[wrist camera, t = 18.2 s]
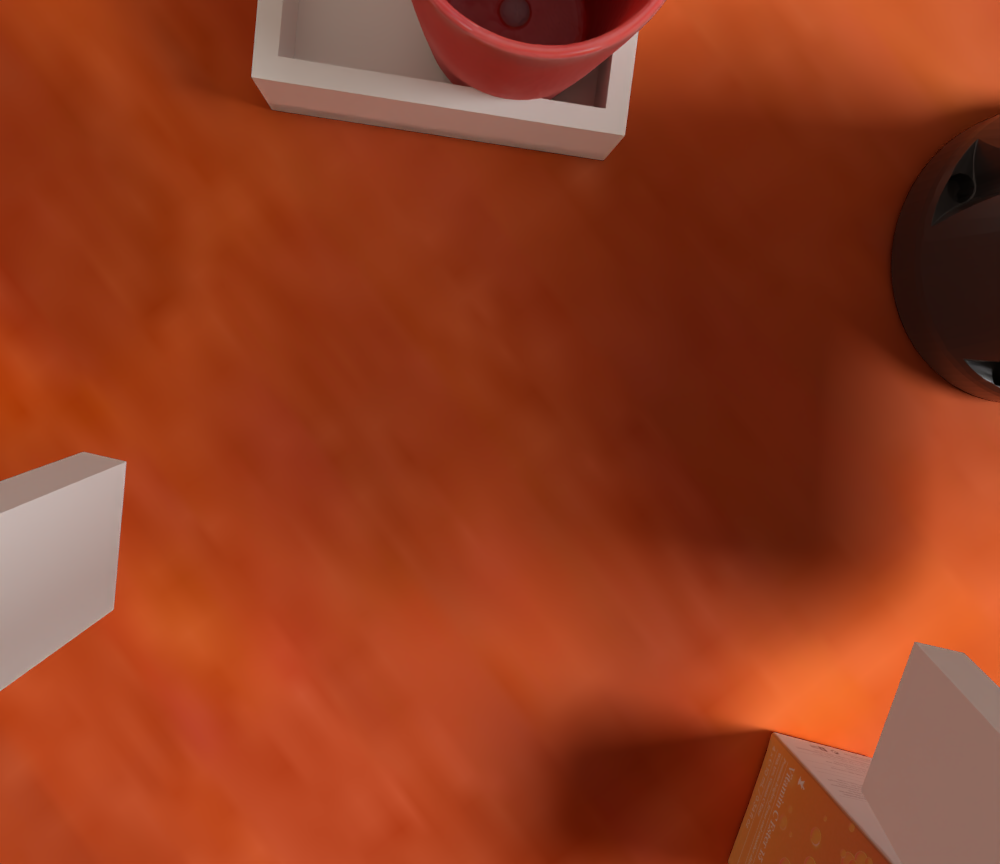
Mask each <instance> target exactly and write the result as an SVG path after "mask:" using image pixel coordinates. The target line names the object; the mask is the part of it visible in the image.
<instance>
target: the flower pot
mask: <svg viewBox="0 0 1000 864" xmlns="http://www.w3.org/2000/svg"><path fill="white" fill-rule="evenodd" d="M411 1H412V4H413V7H414V10H415V12H416V15H417V18H418V20H419V23H420V26H421V28H422V31H423V33H424V36H425V38H426V40H427V42H428V45H429V47H430V49H431V51H432V54H433V56H434V58H435V60H436V62H437V64H438V65H439V67H440V68H441V70H442V71H443V73H444V74H445V75H446V77H447V78H448V79H449V80H450V81H451V82H452V84H455V85H461V86H467V87H473V88H475V89H476V90H479V91H481V92H483V93H486V94H489V95H492V96H495V97H499V98H504V99H512V100H532V99H539V98H542V99H548V100H550V99H552V98H554V97H555V96H557V95H558V94H559V93H561V92H562V91H564V90H565V89H567V88H568V87H570V86H571V85H573V84H574V83H576V82H577V81H579V80H580V79H581V78H583V77H584V76H586V75H587V74H588V73H589V72H591V71H592V70H593V69H595V68H596V67H597V66H598V65H599V64H601V63H602V62H603V61H604V60H606V59H607V58H608V57H609V56H610V55H612V54H613V53H614V52H615V51H616V50H618V49H619V48H620V47H621V46H623V45H624V44H625V43H626V42H627V41H628V40H629V39H630V38H631V37H633V36H634V35H635V34H636V33H637V32H638V31H639V30H640V29H641V28H642V27H643V26H644V25H645V24H646V23H647V22H648V21H649V20H650V19H651V18H652V17H653V16H654V15H655V14H656V12H657V11H658V10H659V9H660V8H661V6H662V5H663V4H664V2H665V1H666V0H411Z"/></svg>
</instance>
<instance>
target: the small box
mask: <svg viewBox="0 0 1000 864" xmlns="http://www.w3.org/2000/svg"><path fill="white" fill-rule="evenodd" d="M871 761H872V758H870V757H867V756H863V755H859V754H856V753H852V752H848V751H844V750H840V749H836V748H833V747H829V746H825V745H821V744H817V743H813V742H810V741H806V740H802V739H798V738H794V737H790V736H787V735H783V734H780V733H776V732H773V733H772V734H771V737H770V741H769V745H768V748H767V752H766V755H765V758H764V761H763V764H762V767H761V770H760V773H759V776H758V779H757V782H756V784H755V787H754V790H753V793H752V796H751V799H750V802H749V805H748V808H747V810H746V813H745V816H744V818H743V821H742V824H741V827H740V830H739V832H738V835H737V838H736V841H735V843H734V846H733V849H732V851H731V854H730V857H729V859H728V864H902V863H901V861H900V859H899V858H898V856H897V854H896V852H895V850H894V849H893V847H892V845H891V843H890V841H889V839H888V838H887V836H886V834H885V832H884V830H883V829H882V827H881V825H880V823H879V821H878V820H877V818H876V816H875V814H874V812H873V811H872V809H871V807H870V805H869V803H868V801H867V800H866V798H865V796H864V794H863V792H862V791H861V788H862V786H863V783H864V780H865V777H866V775H867V772H868V769H869V766H870V764H871Z"/></svg>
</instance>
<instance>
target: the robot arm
mask: <svg viewBox="0 0 1000 864" xmlns="http://www.w3.org/2000/svg"><path fill="white" fill-rule="evenodd" d="M891 272H892V285H893V292H894V297H895V302H896V306H897V309H898V312H899V316H900V318H901V321H902V324H903V326H904V328H905V330H906V332H907V335H908V336H909V338H910V340H911V342H912V343H913V345H914V346H915V348H916V350H917V351H918V352H919V354H920V355H921V356H922V358H923V359H924V360H925V361H926V362H927V363H928V364H929V366H930V367H931V368H932V369H933V370H934V371H936V372H937V373H938V374H939V375H940V376H941V377H943V378H944V379H945V380H946V381H948V382H949V383H951V384H952V385H954V386H956V387H957V388H959V389H961V390H963V391H965V392H967V393H969V394H971V395H974V396H977V397H980V398H983V399H987V400H990V401H996V402H1000V114H998V115H996V116H994V117H991V118H989V119H987V120H984V121H982V122H980V123H978V124H976V125H974V126H972V127H970V128H968V129H967V130H965V131H964V132H962V133H961V134H959V135H957V136H956V137H955V138H954V139H952V140H951V141H950V142H948V143H947V144H946V145H945V146H944V147H943V148H942V149H941V150H940V151H939V152H938V153H937V154H936V155H935V156H934V157H933V158H932V159H931V160H930V161H929V163H928V164H927V165H926V166H925V168H924V169H923V170H922V172H921V173H920V175H919V176H918V178H917V179H916V181H915V183H914V184H913V186H912V188H911V190H910V192H909V193H908V195H907V198H906V200H905V202H904V205H903V207H902V210H901V213H900V215H899V219H898V222H897V226H896V230H895V235H894V240H893V248H892V260H891ZM125 472H126V461H122V460H117V459H113V458H108V457H104V456H100V455H95V454H91V453H87V452H81V453H79V454H76V455H73V456H70V457H67V458H64V459H62V460H59V461H56V462H53V463H50V464H48V465H45V466H42V467H39V468H36V469H34V470H31V471H28V472H25V473H22V474H19V475H17V476H14V477H11V478H8V479H5V480H3V481H0V691H1V690H2V689H4V688H5V687H7V686H8V685H9V684H11V683H12V682H13V681H15V680H16V679H18V678H19V677H20V676H22V675H23V674H25V673H26V672H27V671H29V670H30V669H32V668H33V667H34V666H36V665H37V664H39V663H40V662H41V661H43V660H44V659H45V658H47V657H48V656H50V655H51V654H52V653H54V652H55V651H57V650H58V649H59V648H61V647H62V646H64V645H65V644H66V643H68V642H69V641H71V640H72V639H73V638H75V637H76V636H77V635H79V634H80V633H82V632H83V631H84V630H86V629H87V628H89V627H90V626H91V625H93V624H94V623H96V622H97V621H98V620H100V619H101V618H103V617H104V616H105V615H107V614H108V613H109V612H111V611H112V610H114V601H115V589H116V577H117V566H118V554H119V542H120V531H121V519H122V507H123V495H124V484H125ZM861 791H862V792H863V794H864V796H865V798H866V800H867V801H868V803H869V805H870V807H871V809H872V811H873V812H874V814H875V816H876V818H877V820H878V821H879V823H880V825H881V827H882V829H883V830H884V832H885V834H886V836H887V838H888V839H889V841H890V843H891V845H892V847H893V849H894V850H895V852H896V854H897V856H898V858H899V859H900V861H901V863H902V864H1000V688H999V687H998V686H997V685H996V684H995V683H994V682H993V681H992V680H991V679H990V678H989V677H988V676H987V675H986V674H985V673H984V672H983V671H982V670H981V669H980V668H979V667H978V666H977V665H976V664H975V663H974V662H973V661H972V660H971V659H970V658H969V657H968V656H967V655H965V654H964V653H962V652H957V651H953V650H948V649H944V648H940V647H935V646H931V645H927V644H922V643H918V642H915V643H914V645H913V648H912V651H911V654H910V656H909V659H908V662H907V665H906V667H905V670H904V673H903V676H902V678H901V681H900V684H899V687H898V689H897V692H896V695H895V698H894V700H893V703H892V706H891V709H890V711H889V714H888V717H887V720H886V722H885V725H884V728H883V731H882V733H881V736H880V739H879V742H878V744H877V747H876V750H875V753H874V755H873V758H872V761H871V764H870V766H869V769H868V772H867V775H866V777H865V780H864V783H863V786H862V788H861Z"/></svg>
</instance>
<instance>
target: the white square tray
mask: <svg viewBox="0 0 1000 864" xmlns="http://www.w3.org/2000/svg"><path fill="white" fill-rule="evenodd" d="M638 32H639V31H638ZM638 32H637V33H636V34H635V35H634V36H633V37H631V38H630V39H629V40H628V41H627V42H626V43H625V44H624V45H623V46H621V47H620V48H619V49H618V50H616V51H615V52H614V53H613V54H612V55H610V56H609V57H608V58H607V59H606V60H604V61H603V62H602V63H601V64H599V65H598V66H597V67H596V68H595V69H593V70H592V71H591V72H589V73H588V74H587V75H586V76H584V77H583V78H581V79H580V80H579V81H577V82H576V83H574V84H573V85H571V86H570V87H568V88H567V89H565V90H564V91H562V92H561V93H559V94H558V95H557V96H555V97H554V98H552V99H550V100H548V99H542V98H539V99H532V100H512V99H504V98H499V97H495V96H492V95H489V94H486V93H483V92H481V91H479V90H476V89H475V88H473V87H467V86H461V85H455V84H452V82H451V81H450V80H449V79H448V78H447V77H446V75H445V74H444V73H443V71H442V70H441V68H440V67H439V65H438V64H437V62H436V60H435V58H434V56H433V54H432V51H431V49H430V47H429V45H428V42H427V40H426V38H425V36H424V33H423V31H422V28H421V26H420V23H419V20H418V18H417V15H416V12H415V10H414V7H413V4H412V1H411V0H258V5H257V16H256V27H255V39H254V50H253V62H252V73H251V78H252V79H253V81H254V82H255V84H256V86H257V87H258V89H259V90H260V92H261V93H262V95H263V97H264V98H265V100H266V101H267V103H268V104H269V106H270V108H271V109H272V110H276V111H282V112H289V113H295V114H302V115H309V116H315V117H322V118H328V119H335V120H341V121H348V122H354V123H361V124H367V125H374V126H381V127H387V128H394V129H400V130H407V131H413V132H420V133H426V134H433V135H439V136H446V137H453V138H459V139H466V140H472V141H479V142H485V143H492V144H498V145H505V146H511V147H518V148H525V149H531V150H538V151H544V152H551V153H557V154H564V155H570V156H577V157H583V158H590V159H597V160H603V161H604V160H605V158H606V157H607V156H608V155H609V154H610V153H611V151H612V150H613V149H614V148H615V147H616V146H617V144H618V143H619V142H620V141H621V140H622V139H623V137H624V136H625V131H626V124H627V116H628V108H629V101H630V93H631V85H632V78H633V70H634V63H635V55H636V47H637V40H638Z"/></svg>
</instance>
